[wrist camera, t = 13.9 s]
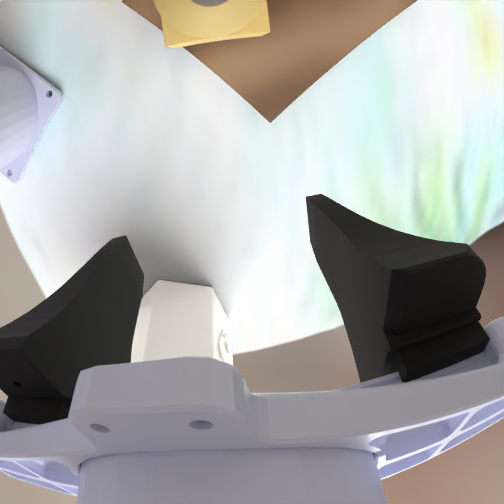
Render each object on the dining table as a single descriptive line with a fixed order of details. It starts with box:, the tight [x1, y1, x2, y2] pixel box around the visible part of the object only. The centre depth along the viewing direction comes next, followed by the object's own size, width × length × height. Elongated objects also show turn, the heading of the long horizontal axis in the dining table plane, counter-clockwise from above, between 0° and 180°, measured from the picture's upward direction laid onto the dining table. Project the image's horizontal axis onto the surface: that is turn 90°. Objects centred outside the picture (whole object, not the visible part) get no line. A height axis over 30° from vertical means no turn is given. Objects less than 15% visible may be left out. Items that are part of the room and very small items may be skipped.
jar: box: [131, 280, 233, 366], centre depth 23 cm, size 9×8×12 cm
